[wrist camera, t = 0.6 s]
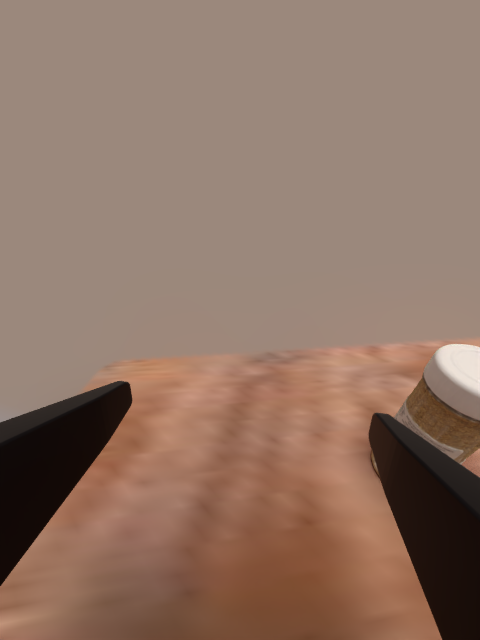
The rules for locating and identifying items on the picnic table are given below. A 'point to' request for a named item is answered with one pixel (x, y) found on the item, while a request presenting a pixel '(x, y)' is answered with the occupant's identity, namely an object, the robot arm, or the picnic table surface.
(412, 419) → the sprinkles bottle
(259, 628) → the picnic table surface
